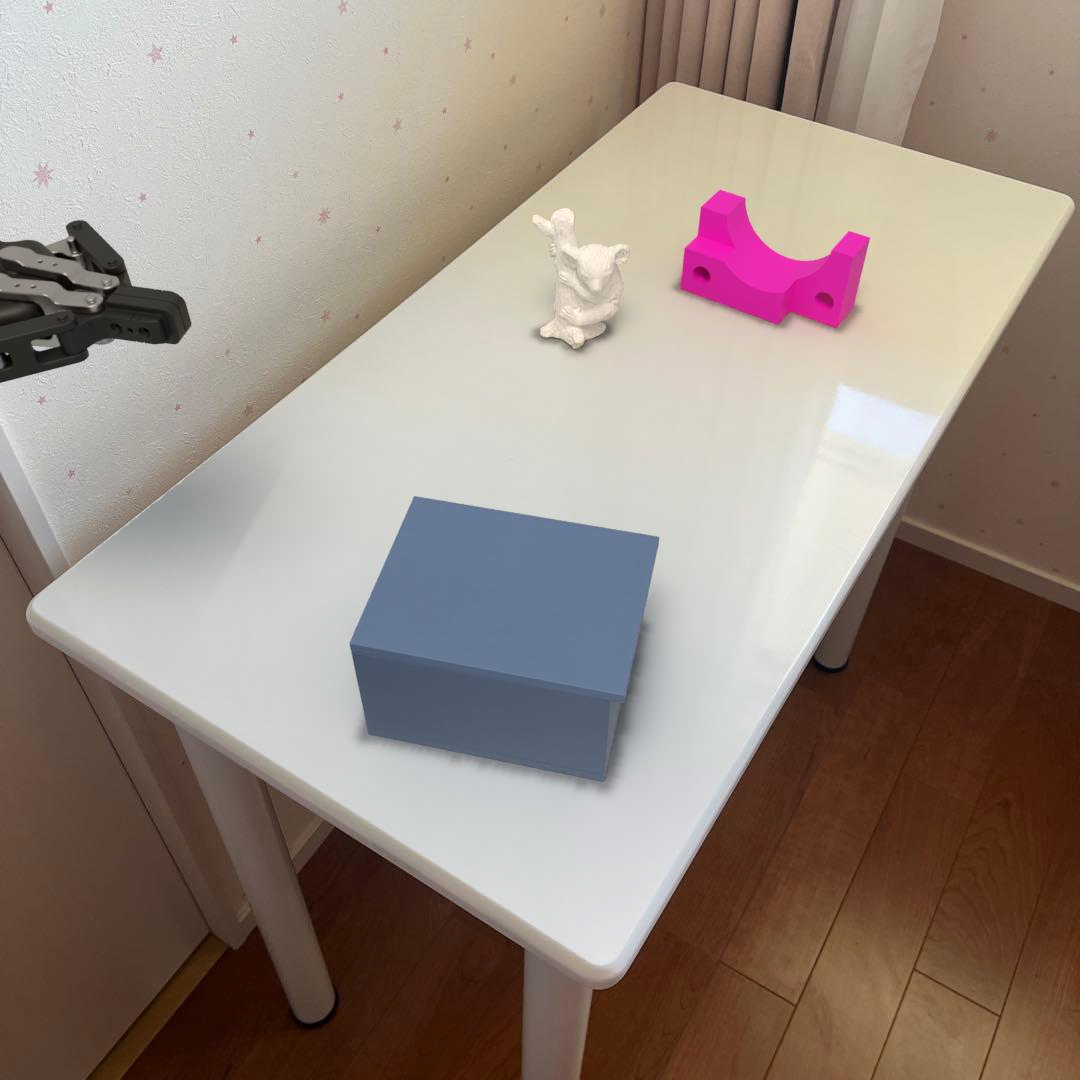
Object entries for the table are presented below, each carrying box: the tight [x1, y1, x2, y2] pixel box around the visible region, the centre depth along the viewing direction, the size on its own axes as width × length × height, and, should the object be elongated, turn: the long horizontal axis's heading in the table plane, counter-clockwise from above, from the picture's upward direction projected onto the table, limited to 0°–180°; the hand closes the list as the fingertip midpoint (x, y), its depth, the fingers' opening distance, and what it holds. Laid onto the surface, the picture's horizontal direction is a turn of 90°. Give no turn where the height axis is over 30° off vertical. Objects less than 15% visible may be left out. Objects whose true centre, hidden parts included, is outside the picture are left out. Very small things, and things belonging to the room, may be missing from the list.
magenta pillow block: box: [680, 189, 871, 329], centre depth 102 cm, size 15×6×8 cm, turn 56°
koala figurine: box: [531, 207, 631, 350], centre depth 97 cm, size 8×7×12 cm
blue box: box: [350, 650, 622, 782], centre depth 71 cm, size 16×13×9 cm
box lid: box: [348, 495, 660, 704], centre depth 68 cm, size 16×13×1 cm
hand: (181, 320), depth 58 cm, fingers closed
